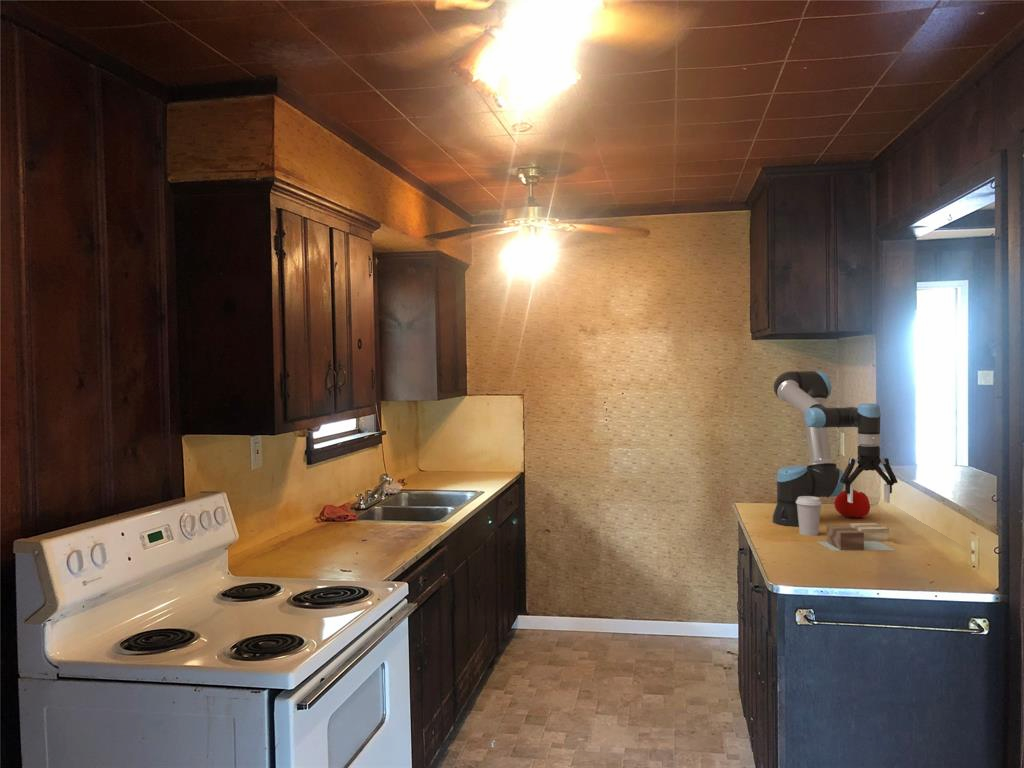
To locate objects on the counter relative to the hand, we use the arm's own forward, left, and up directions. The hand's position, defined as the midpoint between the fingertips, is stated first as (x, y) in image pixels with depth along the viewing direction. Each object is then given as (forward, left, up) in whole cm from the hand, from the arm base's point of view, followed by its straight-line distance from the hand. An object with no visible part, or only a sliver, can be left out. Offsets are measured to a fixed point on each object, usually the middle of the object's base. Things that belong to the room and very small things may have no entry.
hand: (868, 502), depth 280 cm
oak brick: (0, 0, -15) cm, 15 cm away
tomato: (-45, +14, -15) cm, 50 cm away
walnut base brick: (+12, -14, -13) cm, 23 cm away
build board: (+11, -10, -15) cm, 21 cm away
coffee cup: (-8, -19, -15) cm, 25 cm away
